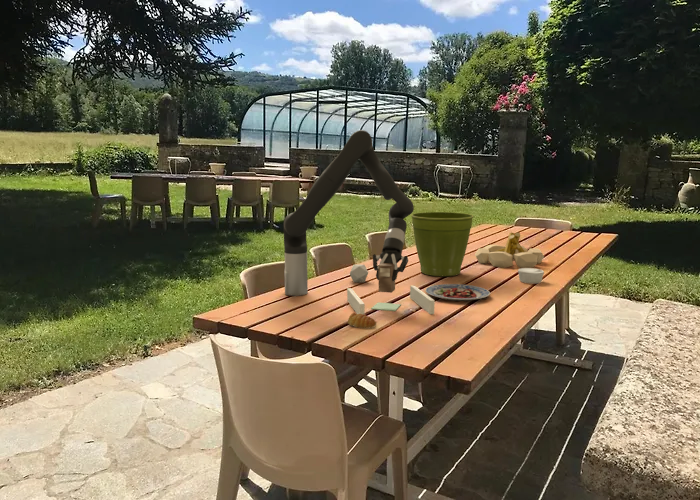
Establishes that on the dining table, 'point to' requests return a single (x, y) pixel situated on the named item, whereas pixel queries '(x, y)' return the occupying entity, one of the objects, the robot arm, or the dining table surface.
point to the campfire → (509, 254)
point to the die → (358, 273)
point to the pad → (386, 306)
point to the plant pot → (441, 241)
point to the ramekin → (530, 275)
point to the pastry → (361, 321)
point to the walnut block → (386, 277)
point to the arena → (415, 295)
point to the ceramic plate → (457, 292)
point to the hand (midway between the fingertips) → (385, 279)
